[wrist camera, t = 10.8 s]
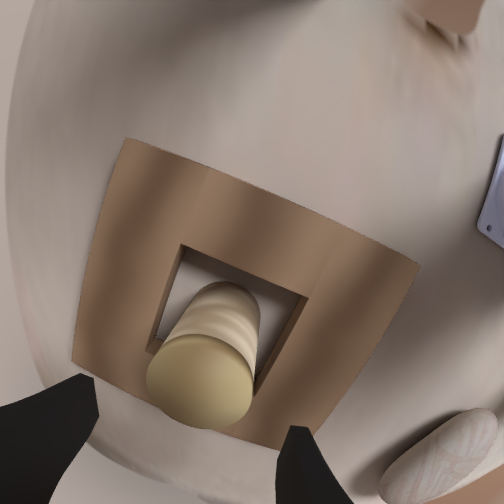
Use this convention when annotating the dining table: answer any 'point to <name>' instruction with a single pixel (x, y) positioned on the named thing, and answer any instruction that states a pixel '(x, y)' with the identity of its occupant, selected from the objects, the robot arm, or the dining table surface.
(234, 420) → the beige wooden cylinder
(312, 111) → the dining table surface
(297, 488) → the robot arm
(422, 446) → the decorative stone
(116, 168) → the carrier board
